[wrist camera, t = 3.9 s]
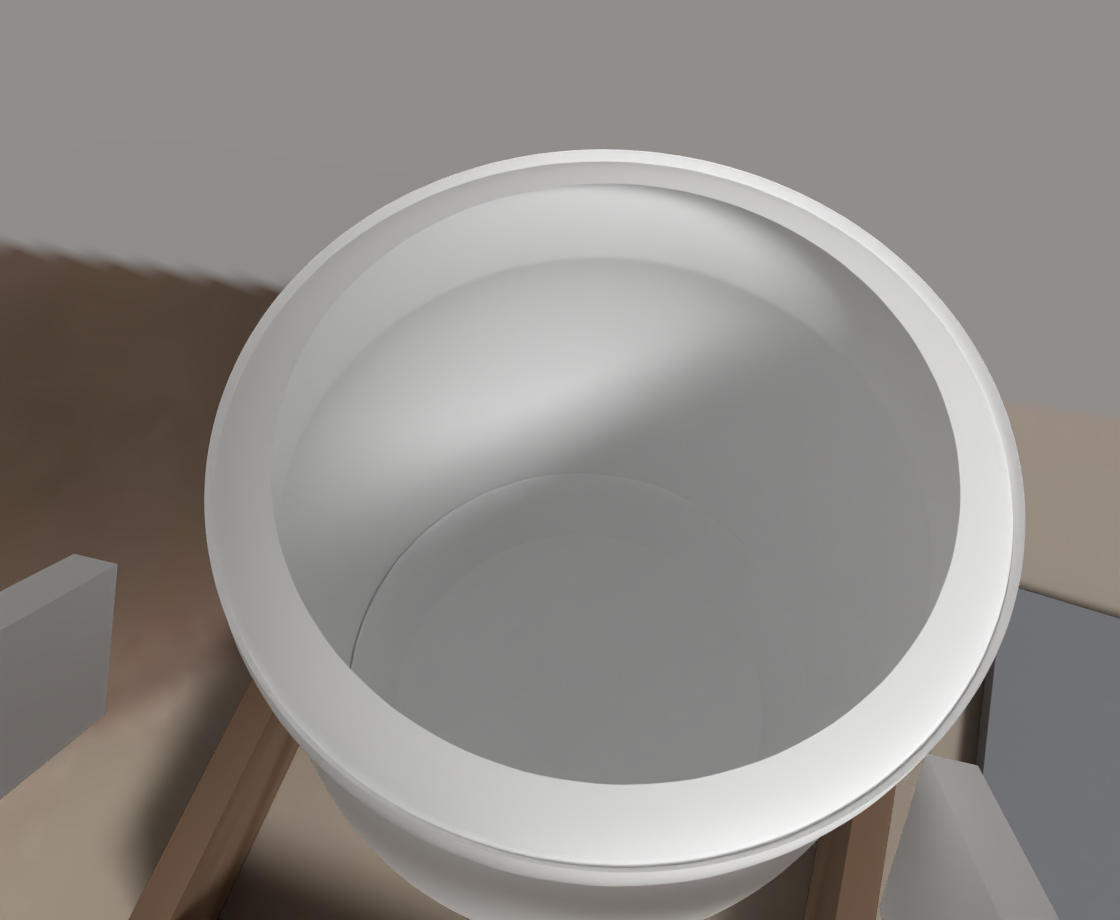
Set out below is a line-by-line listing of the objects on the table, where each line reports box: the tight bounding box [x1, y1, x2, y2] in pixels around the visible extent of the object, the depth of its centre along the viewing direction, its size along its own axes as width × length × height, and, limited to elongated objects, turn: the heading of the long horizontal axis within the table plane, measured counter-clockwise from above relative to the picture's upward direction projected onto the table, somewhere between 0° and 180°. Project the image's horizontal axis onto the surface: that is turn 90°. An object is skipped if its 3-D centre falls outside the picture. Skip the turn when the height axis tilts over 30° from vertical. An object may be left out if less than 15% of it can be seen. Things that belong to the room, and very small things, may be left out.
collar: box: [129, 678, 896, 920], centre depth 24 cm, size 15×16×3 cm
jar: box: [204, 149, 1025, 920], centre depth 19 cm, size 11×10×15 cm
